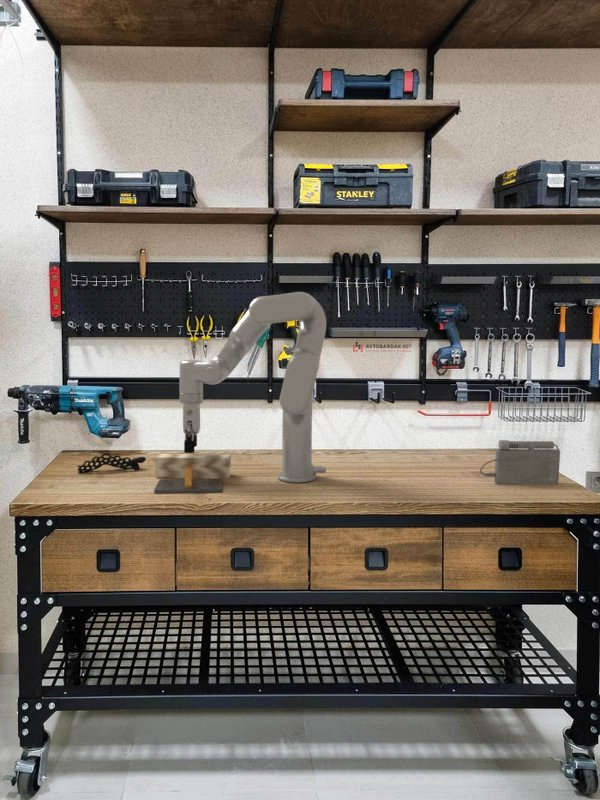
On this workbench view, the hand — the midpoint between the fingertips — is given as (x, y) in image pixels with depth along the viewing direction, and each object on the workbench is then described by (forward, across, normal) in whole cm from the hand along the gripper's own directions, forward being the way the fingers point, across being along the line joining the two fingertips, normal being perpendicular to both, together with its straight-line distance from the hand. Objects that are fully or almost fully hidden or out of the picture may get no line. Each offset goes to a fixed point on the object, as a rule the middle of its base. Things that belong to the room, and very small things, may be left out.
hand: (190, 449), depth 223 cm
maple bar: (+9, 0, -1) cm, 9 cm away
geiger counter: (+6, -16, -105) cm, 106 cm away
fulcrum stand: (+9, -14, -1) cm, 17 cm away
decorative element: (+10, +9, +27) cm, 30 cm away
